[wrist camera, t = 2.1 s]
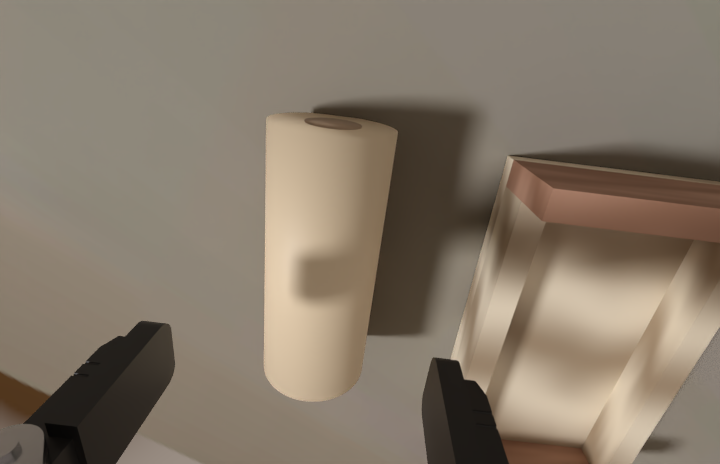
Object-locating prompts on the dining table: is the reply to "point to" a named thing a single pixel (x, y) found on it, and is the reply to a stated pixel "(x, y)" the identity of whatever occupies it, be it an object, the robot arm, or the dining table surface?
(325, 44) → the dining table surface
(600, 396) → the roll holder
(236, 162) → the dining table surface
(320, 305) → the paper roll
